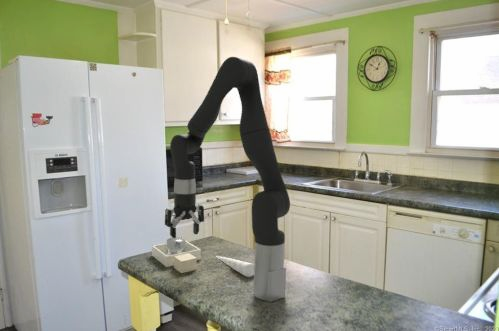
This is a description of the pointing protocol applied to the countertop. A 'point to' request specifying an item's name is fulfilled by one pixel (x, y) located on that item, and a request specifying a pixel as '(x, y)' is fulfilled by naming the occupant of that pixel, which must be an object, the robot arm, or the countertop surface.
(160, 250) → the box
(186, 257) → the carton
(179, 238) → the tin can
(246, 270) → the unicorn horn
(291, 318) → the countertop surface
